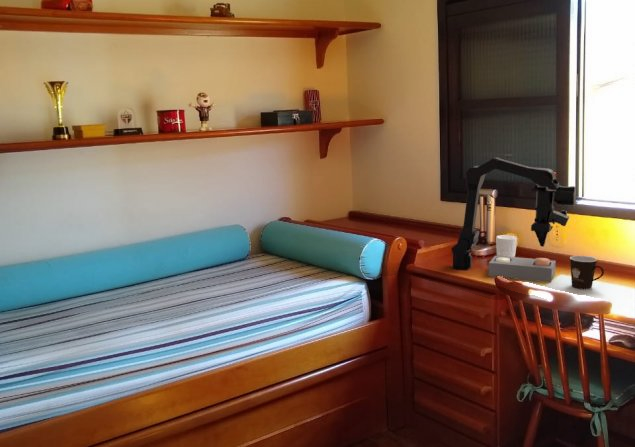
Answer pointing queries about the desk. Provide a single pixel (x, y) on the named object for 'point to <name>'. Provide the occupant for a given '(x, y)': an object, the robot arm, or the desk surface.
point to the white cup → (506, 245)
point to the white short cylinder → (503, 259)
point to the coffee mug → (583, 271)
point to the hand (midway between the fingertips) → (542, 246)
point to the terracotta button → (542, 261)
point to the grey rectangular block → (522, 269)
